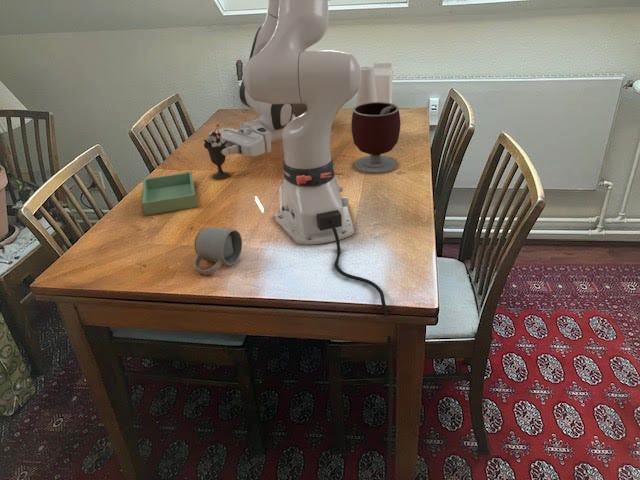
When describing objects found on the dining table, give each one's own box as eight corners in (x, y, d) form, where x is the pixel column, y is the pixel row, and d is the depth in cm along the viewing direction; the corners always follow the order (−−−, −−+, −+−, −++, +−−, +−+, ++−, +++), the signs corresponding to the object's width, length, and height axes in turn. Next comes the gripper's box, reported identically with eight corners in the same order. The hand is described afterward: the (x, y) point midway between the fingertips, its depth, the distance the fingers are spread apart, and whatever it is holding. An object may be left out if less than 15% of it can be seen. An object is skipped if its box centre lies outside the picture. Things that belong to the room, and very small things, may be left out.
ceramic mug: (214, 247, 120) (208, 218, 116) (245, 253, 117) (240, 223, 113) (186, 273, 112) (179, 242, 108) (219, 280, 109) (213, 249, 105)
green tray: (197, 206, 139) (195, 194, 137) (145, 215, 136) (142, 203, 134) (193, 182, 153) (191, 171, 151) (145, 190, 150) (143, 178, 148)
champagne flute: (380, 143, 172) (381, 68, 160) (362, 147, 170) (361, 71, 158) (371, 137, 177) (371, 64, 165) (353, 141, 175) (351, 67, 163)
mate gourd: (343, 163, 159) (341, 97, 149) (382, 153, 165) (383, 88, 154) (371, 180, 147) (371, 110, 137) (412, 169, 152) (414, 100, 142)
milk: (375, 124, 189) (375, 61, 178) (392, 125, 187) (392, 61, 176) (371, 130, 184) (371, 65, 173) (389, 130, 182) (389, 65, 171)
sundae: (234, 171, 158) (227, 122, 151) (229, 180, 153) (221, 130, 145) (213, 171, 159) (204, 123, 152) (207, 180, 153) (197, 130, 146)
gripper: (229, 120, 164) (192, 132, 156) (272, 132, 151) (234, 146, 143) (232, 139, 167) (195, 152, 159) (274, 153, 155) (237, 168, 146)
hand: (214, 149), depth 151 cm, fingers closed on sundae, 6 cm apart
